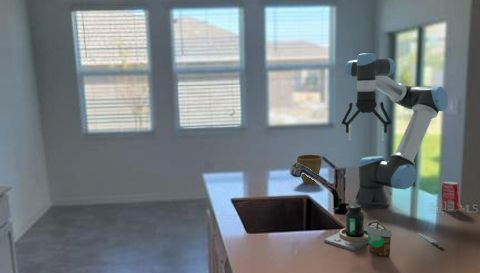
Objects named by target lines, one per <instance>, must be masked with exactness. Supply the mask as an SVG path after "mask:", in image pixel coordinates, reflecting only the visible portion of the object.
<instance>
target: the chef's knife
mask: <svg viewBox="0 0 480 273" xmlns="http://www.w3.org/2000/svg"><path fill="white" fill-rule="evenodd" d="M416 234H418V236H420V237H422V238H423V239H424V240H426V241H427V242H429V243H430V244H431V245H433V246H434V247H436V248H437V249H438V250H441V251H445V248H444V247H442V246H440V245H439V242H438V241H437V240H435V239H433V238H431V237H430V236H428V235H425V234H422V233H420V232H416Z"/></svg>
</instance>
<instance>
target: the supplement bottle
mask: <svg viewBox="0 0 480 273" xmlns="http://www.w3.org/2000/svg"><path fill="white" fill-rule="evenodd" d="M347 210H348V211H347V212H346V213H345V228H346V236H349V237H357V238H359V237H363V236H364V229H365V215H364V213H363V212H362V206H361V205H359V204H356V203H351V204H348V206H347Z"/></svg>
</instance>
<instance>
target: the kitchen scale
mask: <svg viewBox="0 0 480 273" xmlns="http://www.w3.org/2000/svg"><path fill="white" fill-rule="evenodd" d="M323 241H324V243H327V244H330V245H334V246H336V247H340V248H343V249H345V250H350V251H353V252H355V251H358V250H359V249H361V248H362V247H365V246H366V245H369V239H368V232H367V231H366V228H364V236H363V237H359V238H357V237H349V236H346V227H344V228H341V229H340V230H339V232H337V233H335V234H332V235H330V236H328V237H326V238H324V240H323Z"/></svg>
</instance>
